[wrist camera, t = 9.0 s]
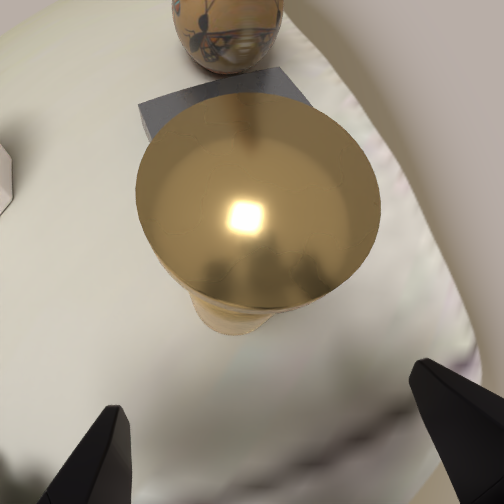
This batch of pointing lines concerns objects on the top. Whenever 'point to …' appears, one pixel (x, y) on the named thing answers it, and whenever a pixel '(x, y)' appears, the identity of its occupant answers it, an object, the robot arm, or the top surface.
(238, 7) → the ceramic vessel
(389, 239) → the top surface
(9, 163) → the jar
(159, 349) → the top surface
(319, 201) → the brass goblet
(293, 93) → the grey square flat frame
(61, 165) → the top surface
